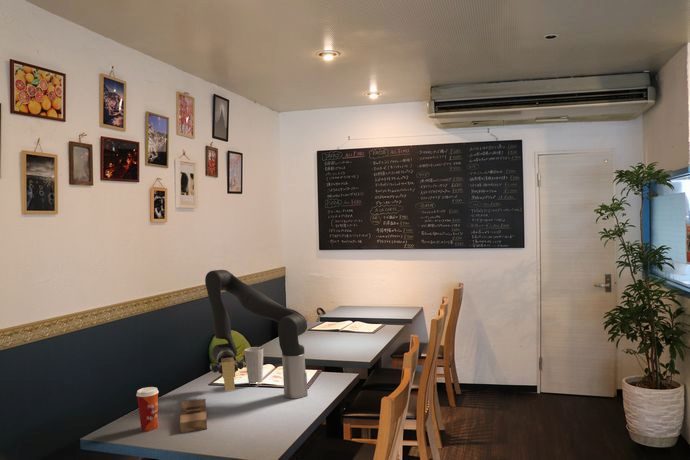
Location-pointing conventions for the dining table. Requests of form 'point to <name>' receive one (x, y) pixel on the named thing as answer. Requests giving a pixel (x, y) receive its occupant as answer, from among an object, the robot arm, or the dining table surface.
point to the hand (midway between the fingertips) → (228, 370)
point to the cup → (254, 364)
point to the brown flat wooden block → (193, 415)
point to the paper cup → (148, 408)
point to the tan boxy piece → (228, 373)
